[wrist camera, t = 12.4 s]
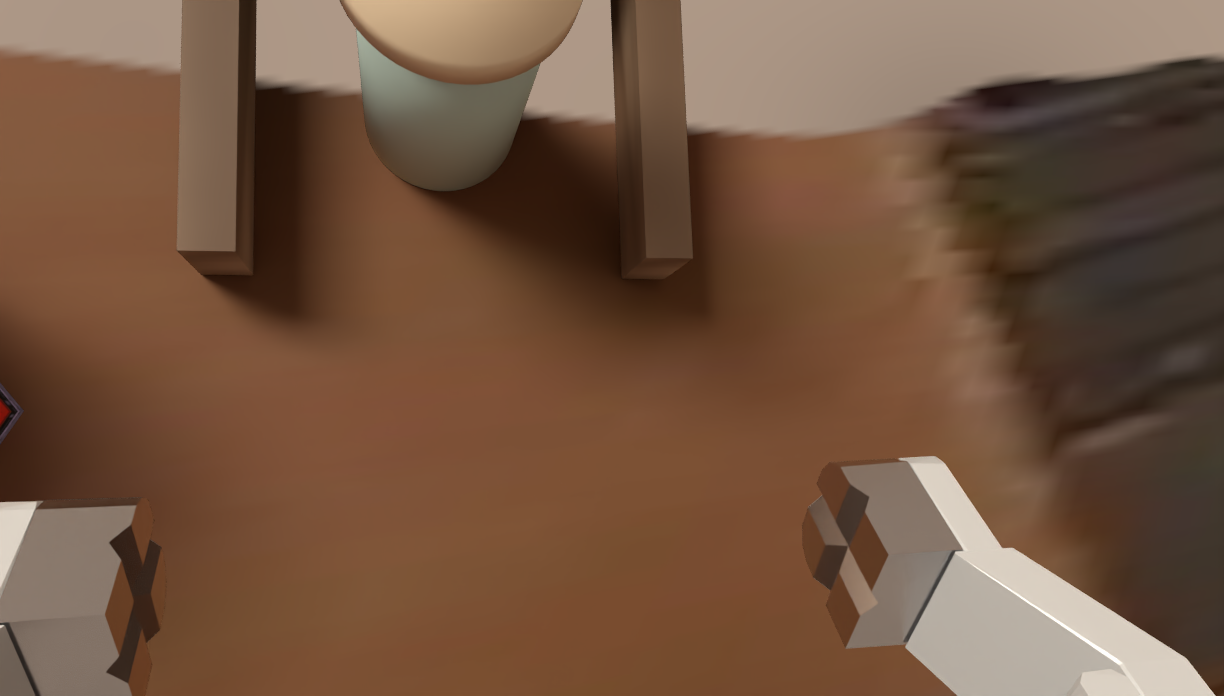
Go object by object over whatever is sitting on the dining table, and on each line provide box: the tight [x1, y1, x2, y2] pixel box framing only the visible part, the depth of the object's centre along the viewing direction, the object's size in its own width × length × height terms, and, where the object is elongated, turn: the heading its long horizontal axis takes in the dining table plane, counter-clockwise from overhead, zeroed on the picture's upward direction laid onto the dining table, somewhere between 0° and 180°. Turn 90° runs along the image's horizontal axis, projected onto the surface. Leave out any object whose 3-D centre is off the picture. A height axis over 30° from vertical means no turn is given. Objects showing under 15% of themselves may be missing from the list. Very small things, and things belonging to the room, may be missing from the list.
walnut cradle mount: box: [177, 0, 693, 279], centre depth 26 cm, size 16×12×6 cm
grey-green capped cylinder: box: [340, 0, 583, 191], centre depth 24 cm, size 5×5×10 cm
